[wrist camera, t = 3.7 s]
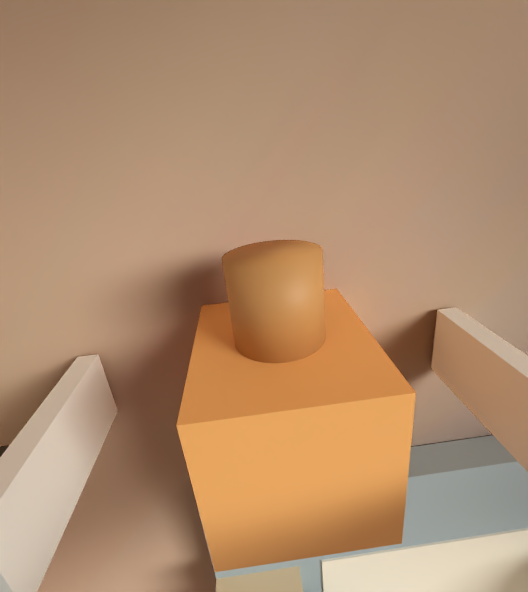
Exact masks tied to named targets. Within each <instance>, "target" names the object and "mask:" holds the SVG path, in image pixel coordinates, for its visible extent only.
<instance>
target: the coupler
mask: <svg viewBox="0 0 528 592" xmlns="http://www.w3.org/2000/svg"><path fill="white" fill-rule="evenodd" d="M222 265H223V272H224V278H225V284H226V291H227V297H228V302H227V303H219V304H211V305H203V306H202V307H201V311H200V316H199V321H198V326H197V330H196V335H195V340H194V345H193V349H192V354H191V359H190V364H189V368H188V373H187V378H186V382H185V387H184V392H183V397H182V401H181V406H180V411H179V416H178V420H177V425H176V426H177V430H178V434H179V438H180V442H181V445H182V449H183V453H184V457H185V461H186V464H187V468H188V472H189V476H190V480H191V483H192V487H193V491H194V495H195V499H196V502H197V506H198V510H199V514H200V518H201V521H202V525H203V529H204V533H205V537H206V541H207V544H208V548H209V552H210V556H211V560H212V563H213V567H214V571H215V572H220V571H227V570H233V569H240V568H246V567H253V566H259V565H266V564H272V563H279V562H285V561H292V560H298V559H305V558H311V557H318V556H324V555H331V554H337V553H344V552H350V551H357V550H363V549H370V548H376V547H383V546H389V545H396V544H402V537H403V527H404V516H405V505H406V494H407V484H408V473H409V462H410V451H411V441H412V430H413V419H414V408H415V398H416V392H415V391H414V390H413V388H412V387H411V386H410V384H409V383H408V382H407V380H406V379H405V378H404V376H403V375H402V374H401V373H400V371H399V370H398V369H397V367H396V366H395V365H394V363H393V362H392V361H391V359H390V358H389V357H388V355H387V354H386V353H385V352H384V350H383V349H382V348H381V346H380V345H379V344H378V342H377V341H376V340H375V338H374V337H373V336H372V334H371V333H370V332H369V331H368V329H367V328H366V327H365V325H364V324H363V323H362V321H361V320H360V319H359V317H358V316H357V315H356V313H355V312H354V311H353V309H352V308H351V307H350V306H349V304H348V303H347V302H346V300H345V299H344V298H343V296H342V295H341V294H340V292H339V291H338V290H337V289H330V290H324V274H323V249H322V247H321V246H319V245H317V244H315V243H312V242H307V241H300V240H275V241H265V242H258V243H253V244H249V245H245V246H241V247H238V248H236V249H233V250H231V251H229V252H227V253H226V254H225V255H224V256H223V257H222Z"/></svg>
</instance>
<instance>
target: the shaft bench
mask: <svg viewBox="0 0 528 592" xmlns="http://www.w3.org/2000/svg"><path fill="white" fill-rule="evenodd" d="M198 512H199V510H198ZM199 516H200V514H199ZM200 519H201V518H200ZM201 523H202V521H201ZM202 527H203V525H202ZM203 531H204V529H203ZM204 534H205V533H204ZM205 538H206V537H205ZM206 542H207V541H206ZM207 546H208V544H207ZM208 550H209V548H208ZM209 553H210V552H209ZM210 557H211V556H210ZM211 561H212V560H211ZM212 565H213V563H212ZM213 569H214V567H213ZM214 572H215V571H214ZM215 576H216V592H528V472H527V471H526V470H525V469H524V468H523V467H522V466H521V465H520V464H519V462H518V461H517V460H516V459H515V458H514V457H513V456H512V455H511V454H510V453H509V452H508V451H507V450H506V448H505V447H504V446H503V445H502V444H501V443H500V442H499V441H498V440H497V439H496V438H495V437H494V436H493V435H490V436H484V437H477V438H470V439H463V440H456V441H449V442H442V443H435V444H428V445H421V446H414V447H411V451H410V462H409V473H408V484H407V494H406V505H405V516H404V527H403V537H402V544H396V545H389V546H383V547H376V548H370V549H363V550H357V551H350V552H344V553H337V554H331V555H324V556H318V557H311V558H305V559H298V560H292V561H285V562H279V563H272V564H266V565H259V566H253V567H246V568H240V569H233V570H227V571H220V572H215Z"/></svg>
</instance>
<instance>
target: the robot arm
mask: <svg viewBox="0 0 528 592" xmlns="http://www.w3.org/2000/svg"><path fill="white" fill-rule="evenodd" d="M431 369H432V370H433V371H434V372H435V373H436V374H437V375H438V376H439V377H440V379H441V380H442V381H443V382H444V383H445V384H446V385H447V386H448V387H449V388H450V389H451V390H452V391H453V392H454V394H455V395H456V396H457V397H458V398H459V399H460V400H461V401H462V402H463V403H464V404H465V405H466V406H467V408H468V409H469V410H470V411H471V412H472V413H473V414H474V415H475V416H476V417H477V418H478V419H479V420H480V422H481V423H482V424H483V425H484V426H485V427H486V428H487V429H488V430H489V431H490V432H491V433H492V434H493V436H494V437H495V438H496V439H497V440H498V441H499V442H500V443H501V444H502V445H503V446H504V447H505V448H506V450H507V451H508V452H509V453H510V454H511V455H512V456H513V457H514V458H515V459H516V460H517V461H518V462H519V464H520V465H521V466H522V467H523V468H524V469H525V470H526V471H527V472H528V356H527V355H526V354H525V353H523V352H522V351H520V350H519V349H517V348H516V347H514V346H513V345H511V344H510V343H508V342H507V341H505V340H504V339H502V338H501V337H500V336H498V335H497V334H495V333H494V332H492V331H491V330H489V329H488V328H486V327H485V326H483V325H482V324H480V323H479V322H477V321H476V320H475V319H473V318H472V317H470V316H469V315H467V314H466V313H464V312H463V311H461V310H460V309H458V308H457V307H454V308H446V309H438V310H437V318H436V327H435V337H434V346H433V355H432V364H431ZM117 412H118V410H117V408H116V405H115V402H114V399H113V396H112V393H111V390H110V387H109V384H108V381H107V378H106V375H105V372H104V369H103V366H102V364H101V361H100V358H99V355H98V354H95V355H87V356H79V357H77V358H76V360H75V361H74V362H73V363H72V365H71V366H70V367H69V369H68V370H67V371H66V373H65V374H64V375H63V376H62V378H61V379H60V380H59V382H58V383H57V384H56V386H55V387H54V388H53V389H52V391H51V392H50V393H49V395H48V396H47V397H46V399H45V400H44V401H43V402H42V404H41V405H40V406H39V408H38V409H37V410H36V412H35V413H34V414H33V415H32V417H31V418H30V419H29V421H28V422H27V423H26V425H25V426H24V427H23V428H22V430H21V431H20V432H19V434H18V435H17V436H16V438H15V439H14V440H13V441H12V443H11V444H10V445H7V446H1V447H0V592H37V591H38V589H39V587H40V584H41V582H42V580H43V578H44V576H45V573H46V571H47V569H48V567H49V564H50V562H51V560H52V558H53V555H54V553H55V551H56V549H57V546H58V544H59V542H60V540H61V538H62V535H63V533H64V531H65V529H66V526H67V524H68V522H69V520H70V517H71V515H72V513H73V511H74V508H75V506H76V504H77V502H78V500H79V497H80V495H81V493H82V491H83V488H84V486H85V484H86V482H87V479H88V477H89V475H90V473H91V470H92V468H93V466H94V464H95V462H96V459H97V457H98V455H99V453H100V450H101V448H102V446H103V444H104V441H105V439H106V437H107V435H108V432H109V430H110V428H111V426H112V424H113V421H114V419H115V417H116V415H117Z"/></svg>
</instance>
